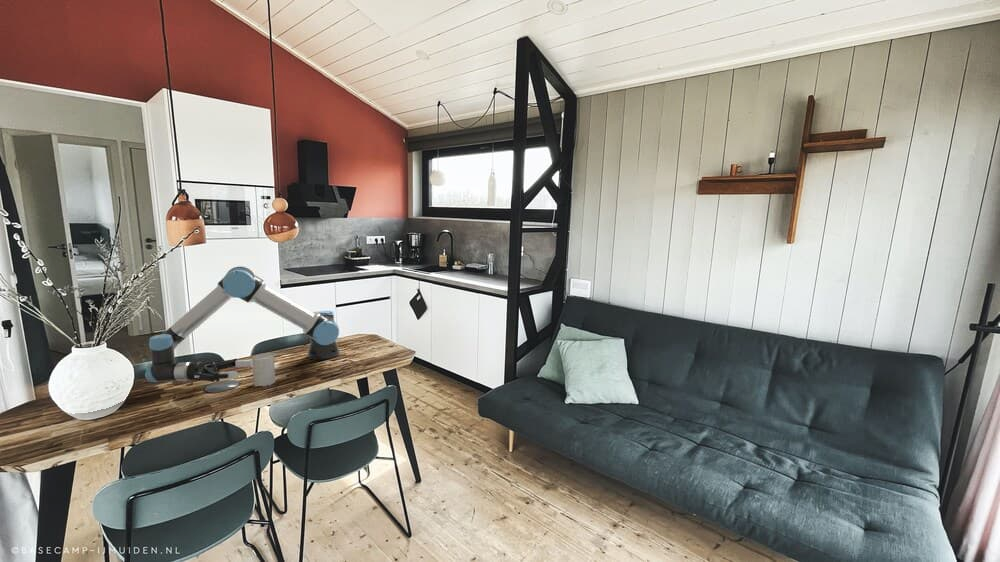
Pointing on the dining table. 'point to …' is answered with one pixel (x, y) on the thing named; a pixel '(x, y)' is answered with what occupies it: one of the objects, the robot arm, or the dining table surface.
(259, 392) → the dining table surface
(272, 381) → the cup
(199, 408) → the dining table surface
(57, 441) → the dining table surface
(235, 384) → the metal disc
